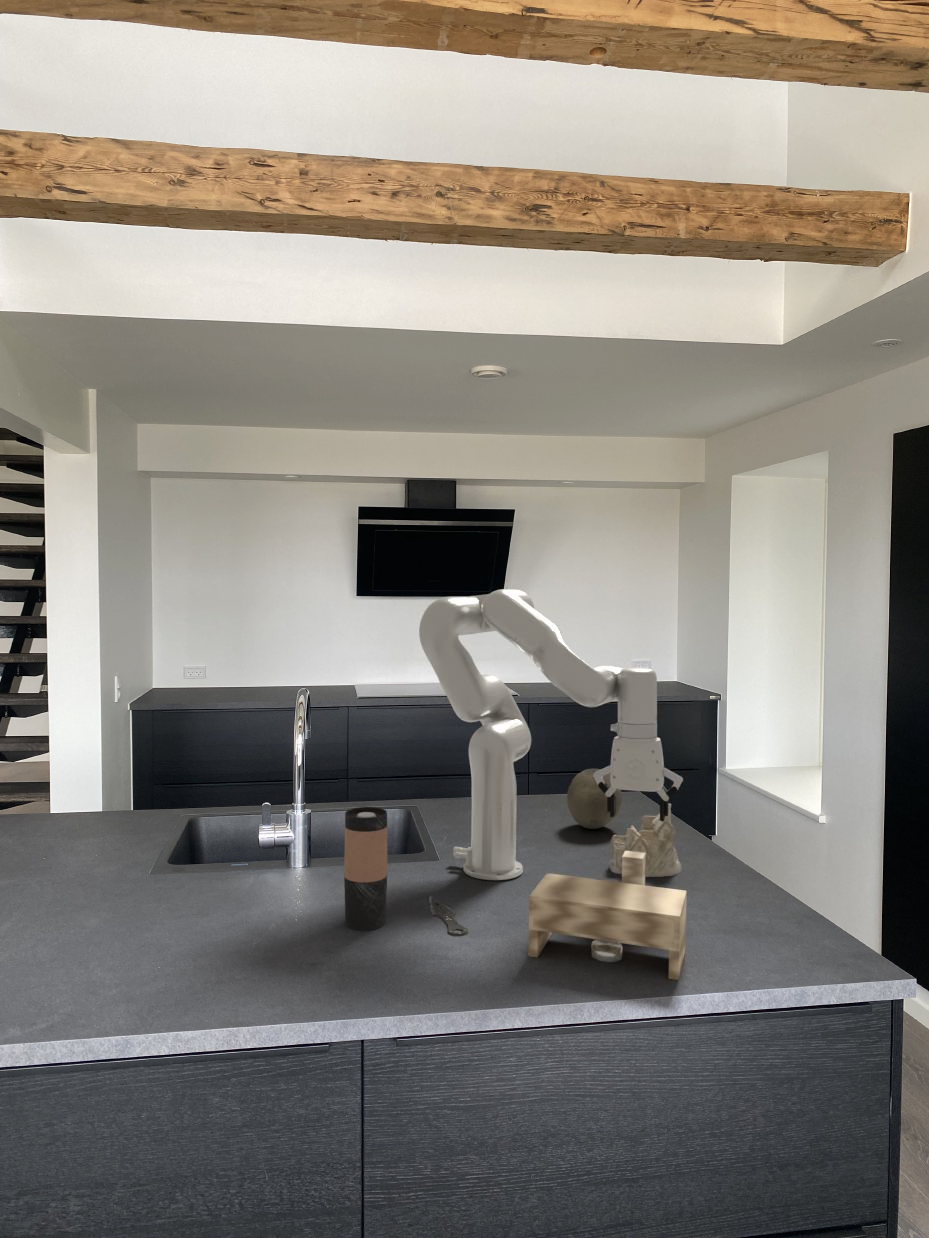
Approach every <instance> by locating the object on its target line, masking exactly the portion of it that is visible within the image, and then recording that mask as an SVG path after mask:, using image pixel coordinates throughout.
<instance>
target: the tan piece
mask: <svg viewBox="0 0 929 1238" xmlns="http://www.w3.org/2000/svg"><path fill="white" fill-rule="evenodd" d="M645 858H646V853H642V852H633V851H625V852H624V854H623V856H622V874H621V883H629V884H637V885H645V886H646V877H645Z"/></svg>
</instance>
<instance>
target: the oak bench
mask: <svg viewBox="0 0 929 1238" xmlns="http://www.w3.org/2000/svg"><path fill="white" fill-rule="evenodd" d="M687 893H688V892H687V890H685V889H684V890H683V889H675V888H669V887H668V888H666V887H660V886H651V885H646V884H645V885H637V884H629V883H622V881H612V880H606V879H605V880H603V879H595V878H590V877H589V878H587V877H580V876H573V875H572V876H571V875H565V874H556V873H548V872H547V873H546V874H545V875H544V876H543V877H542V879H541V880H540V881H539V882H538V884H537V885H536V886H535V888H534V889H533V891H532V892H531V893H530V895H529V896H528V897H529V898H528V899H529V900H528V901H529V903H528V904H529V905H528V951H527V952H528V954H527V956H528V957H532V958H538V957H539V955H540V954H541V953H542V951H543V950H544V948H545V946H546V944H547V943H548V941H549V939H550V938H551V936H552V935H553V934H560V935H565V936H566V935H567V936H571V937H578V938H585V939H591V940H596V939H598V940H605V941H612V942H619V943H621V944H626V945H632V946H633V945H634V946H639V947H640V946H641V947H646V948H653V949H661V950H666V951H668V979H670V980H675V981H679V980H680V976H681V970H682V967H683V963H684V962H683V961H684V957H685V952H686V942H687V940H686V939H687V938H686V934H687V932H686V931H687V901H688V900H687V899H688V898H687Z"/></svg>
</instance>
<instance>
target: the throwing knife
mask: <svg viewBox="0 0 929 1238" xmlns="http://www.w3.org/2000/svg"><path fill="white" fill-rule="evenodd" d="M437 904H438V905H437ZM429 906H430V911H431V914H432V916H433V915H436V916H439V917H438V918H440V919H441V918H442V919H443V920H444V921H445V922H444V921H443V920H442V919H441V920H442V921H443V922H444V923H445V925H446V924H447V925H446V926H447V930H448V931H447V934H449V933H450V934H451V936H453V935H462V936H465V935H464V934H466V935H468V933H469V930H468V928H467V927H465V926H463V925H461V924H460V923H458V921H457V920H456V919H455V917H454V915H453V914H454V913H456V912H455V911H454V910H453V909H451V908H450V907H449V906H447V905H446V904H444V903H443V902H442V901H441V900H438V899H436V898H435V897H434V896H432V895H429ZM439 907H440V908H439ZM441 910H442V911H441ZM452 910H453V911H454V912H453V911H452ZM444 913H445V914H444ZM436 916H435V917H436ZM446 916H448V917H446ZM446 919H448V920H446ZM450 919H452V920H450ZM456 929H458V930H456ZM454 930H455V931H454ZM461 930H462V931H461ZM453 931H454V932H453ZM456 931H460V932H456ZM450 934H449V935H450Z"/></svg>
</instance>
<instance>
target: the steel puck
mask: <svg viewBox="0 0 929 1238" xmlns="http://www.w3.org/2000/svg"><path fill="white" fill-rule="evenodd" d="M591 954H592V955H591V957H592V958H594V959H595V960H596V959H597V961H599V962H603V963H604V962H605V963H616V962H619V961H621V960H622V959H623V943H619V942H612V941H605V940H598V939H593V941H592V942H591Z"/></svg>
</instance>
